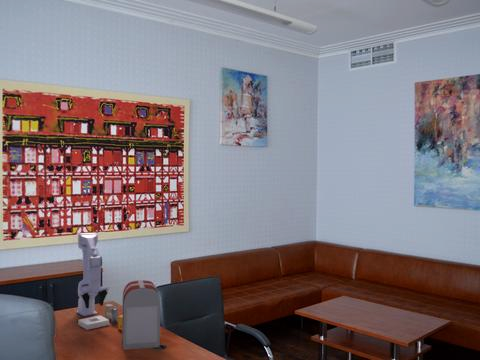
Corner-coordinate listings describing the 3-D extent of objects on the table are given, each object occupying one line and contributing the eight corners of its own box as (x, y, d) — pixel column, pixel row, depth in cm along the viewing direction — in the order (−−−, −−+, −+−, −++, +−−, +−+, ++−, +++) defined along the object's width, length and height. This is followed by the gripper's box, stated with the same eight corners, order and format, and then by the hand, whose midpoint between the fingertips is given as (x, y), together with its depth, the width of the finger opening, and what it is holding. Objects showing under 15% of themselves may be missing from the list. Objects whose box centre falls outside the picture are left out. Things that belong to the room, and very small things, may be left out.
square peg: (104, 318, 254) (104, 305, 254) (110, 316, 256) (110, 304, 256) (107, 319, 252) (107, 306, 251) (113, 318, 254) (113, 305, 254)
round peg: (110, 322, 247) (110, 308, 247) (115, 320, 250) (116, 307, 249) (113, 323, 245) (113, 310, 245) (118, 322, 247) (119, 309, 247)
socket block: (78, 324, 242) (78, 319, 242) (100, 320, 250) (100, 315, 250) (86, 329, 235) (87, 324, 235) (109, 324, 243) (109, 320, 243)
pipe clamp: (142, 330, 236) (143, 318, 236) (137, 333, 232) (137, 320, 232) (124, 326, 241) (124, 314, 241) (118, 329, 237) (118, 316, 237)
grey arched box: (122, 349, 210) (123, 289, 210) (121, 336, 227) (122, 280, 227) (160, 347, 215) (161, 287, 214) (156, 333, 232) (157, 278, 231)
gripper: (84, 283, 234) (84, 311, 235) (111, 279, 244) (111, 305, 244) (78, 280, 239) (78, 307, 240) (105, 276, 249) (104, 302, 250)
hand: (94, 306), depth 242 cm, fingers open, 7 cm apart
